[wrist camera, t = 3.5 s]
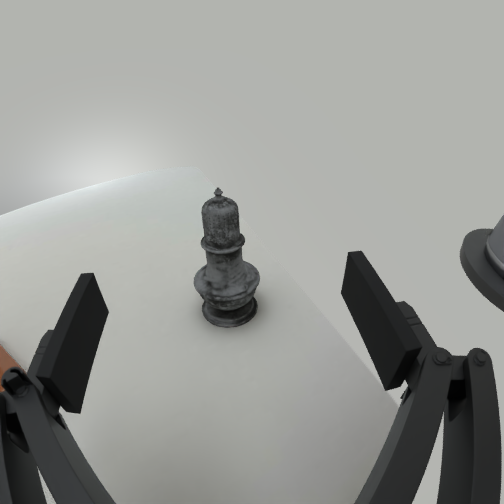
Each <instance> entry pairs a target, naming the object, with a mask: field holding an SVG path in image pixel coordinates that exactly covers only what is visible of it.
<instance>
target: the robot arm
mask: <svg viewBox="0 0 504 504" xmlns="http://www.w3.org/2000/svg"><path fill="white" fill-rule="evenodd" d="M485 235H489V236H488V239H487V242H486V245H485V248H484V252H485V256H486V258H487V260H488V262H489V264H490V265H491V266H492V268H493V269H494V270H495V271H496V272H497V273H498V274H499V275H500V276H501V277H502V278H503V279H504V215H503V216H502V218H501V219H500V221H499V222H498V224H497V225H496V226H495V228H494V229H487V231H486V234H485ZM341 294H342V296H343V299H344V301H345V303H346V305H347V307H348V309H349V311H350V313H351V315H352V317H353V320H354V322H355V324H356V326H357V328H358V330H359V332H360V334H361V337H362V339H363V341H364V343H365V345H366V348H367V350H368V352H369V354H370V357H371V359H372V361H373V363H374V365H375V368H376V370H377V372H378V375H379V377H380V379H381V382H382V384H383V386H384V389H385V391H387V390H390V389H394V388H398V387H400V386H401V385H402V383H403V381H404V380H406V382H407V384H408V387H407V389H406V390H405V391H404V393H403V395H402V396H401V399H402V402H401V404H400V407H399V410H398V412H397V415H396V417H395V420H394V423H393V425H392V427H391V430H390V432H389V435H388V437H387V439H386V442H385V444H384V446H383V448H382V450H381V453H380V455H379V457H378V459H377V461H376V463H375V465H374V467H373V469H372V471H371V473H370V475H369V477H368V479H367V481H366V483H365V485H364V487H363V489H362V491H361V492H360V494H359V496H358V498H357V500H356V501H355V503H354V504H412V502H413V500H414V497H415V495H416V493H417V490H418V487H419V485H420V483H421V480H422V478H423V475H424V473H425V470H426V467H427V464H428V462H429V459H430V456H431V453H432V450H433V447H434V443H435V440H436V437H437V433H438V430H439V427H440V423H441V419H442V416H443V412H444V433H443V452H442V465H441V476H440V484H439V493H438V499H437V504H500V493H501V432H500V419H499V418H500V417H499V407H498V399H497V391H496V384H495V378H494V371H493V366H492V360H491V358H490V356H489V354H488V353H487V352H486V351H484V350H483V349H480V348H473V349H472V350H470V352H469V353H468V355H467V356H452V355H451V354H450V353H449V352H448V351H447V350H446V349H444V348H440V347H437V346H436V344H435V342H434V341H433V339H432V337H431V336H430V334H429V333H428V332H427V329H426V328H425V326H424V325H423V324H422V322H421V320H420V319H419V318H418V315H417V314H416V312H415V311H414V309H413V308H412V307H411V306H410V305H408V304H407V303H406V302H405V301H402V302H395V300H394V299H393V297H392V296H391V294H390V293H389V291H388V289H387V288H386V286H385V285H384V283H383V282H382V280H381V279H380V277H379V276H378V274H377V273H376V271H375V270H374V268H373V267H372V265H371V264H370V262H369V261H368V260H367V258H366V257H365V255H364V254H363V252H362V251H355V252H348V256H347V262H346V269H345V274H344V279H343V285H342V290H341ZM108 313H109V311H108V309H107V306H106V304H105V301H104V299H103V297H102V294H101V292H100V289H99V286H98V284H97V281H96V279H95V276H94V273H84V274H81V275H80V277H79V279H78V281H77V283H76V285H75V287H74V288H73V290H72V292H71V294H70V297H69V299H68V301H67V303H66V305H65V307H64V309H63V311H62V313H61V315H60V318H59V320H58V322H57V324H56V326H55V329H54V330H48V331H47V332H46V333H45V335H44V336H43V337H42V339H41V341H40V343H39V345H38V348H37V350H36V352H35V353H36V354H35V355H34V357H33V360H32V362H31V365H30V367H29V370H28V372H27V375H26V374H25V372H24V371H23V370H22V369H21V368H20V367H11V368H9V369H8V370H6V371H5V373H4V374H3V376H2V378H1V386H2V387H3V388H4V389H5V390H6V391H4V392H0V504H47V502H46V499H45V495H44V492H43V488H42V485H41V481H40V477H39V473H38V468H39V471H40V473H41V475H42V477H43V479H44V481H45V483H46V485H47V487H48V489H49V491H50V492H51V494H52V496H53V498H54V500H55V502H56V503H57V504H116V503H115V502H114V500H113V499H112V498H111V496H110V495H109V493H108V492H107V491H106V489H105V488H104V486H103V485H102V483H101V482H100V481H99V479H98V478H97V476H96V474H95V473H94V471H93V470H92V468H91V467H90V465H89V463H88V462H87V460H86V459H85V457H84V455H83V454H82V452H81V450H80V448H79V447H78V445H77V443H76V441H75V440H74V438H73V436H72V434H71V432H70V430H69V429H68V427H67V425H66V423H65V421H64V419H63V417H62V415H61V414H60V413H59V408H60V405H61V407H62V408H63V409H64V410H65V411H66V412H71V413H78V414H80V413H81V408H82V404H83V400H84V396H85V392H86V388H87V384H88V380H89V376H90V372H91V369H92V365H93V362H94V358H95V355H96V351H97V348H98V344H99V341H100V338H101V335H102V331H103V328H104V325H105V322H106V319H107V316H108ZM37 466H38V468H37Z"/></svg>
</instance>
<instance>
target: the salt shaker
mask: <svg viewBox="0 0 504 504" xmlns="http://www.w3.org/2000/svg"><path fill="white" fill-rule="evenodd" d="M222 193H223V192H222V191H221V189H219V188H217V189H216V190H215V192H214V194H215V195H216V196H215V197H214V198H211V199H209V200H208V201H207V202H205V204H204V205H203V207H202V220H203V228H204V237H203V238H202V240H201V246H202V248H203V249H204V250H205V251H206V258H207V265H205V266H203V267H202V268H201V269H200V270H199V271H198V272H197V273H196V275H195V277H194V286H195V289H196V290H197V291H198V293H199V294H200V296H201V297H202V298H203V299H204V303H203V305H202V312H203V315H204V317H205V318H206V319H207V321H209V322H210V323H212V324H214V325H217V326H221V327H235V326H239V325H242V324H244V323H246V322H248V321H249V320H250V319H252V318H253V317H254V315H255V314H256V311H257V301H256V299H255V298H254V297H253V295H254V293H255V290H256V287H257V286H258V284H259V281H260V276H259V272H258V270H257V269H256V268H255V267H254V266H253V265H252V264H250V263H248V262H246V261H243V259H242V246H243V245H244V243H245V237H244V236H243V235H242V234H241V233H240V229H239V213H238V206H237V204H236V203H235V202H234V201H233V200H232V199H230V198H227V197H224V196H222V195H221V194H222Z"/></svg>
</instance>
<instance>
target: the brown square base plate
mask: <svg viewBox="0 0 504 504" xmlns="http://www.w3.org/2000/svg"><path fill="white" fill-rule="evenodd" d="M11 367H20V368H21V366H20V365H19V364H18V363H17V362H16V361H15V360H14V359H13V358H12V357H11V356H10V355H9V354H8V353H7V351H6V350H5V349H4V348H3V347H2V346H1V345H0V392H4V391H6V390H5V389H4V388H3V387H2V386H1V378H2V376H3V374H4V373H5V371H6V370H8V369H9V368H11ZM21 369H22V368H21ZM22 370H23V369H22ZM23 371H24V370H23ZM24 372H25V371H24ZM25 374H26V375H27V373H26V372H25Z"/></svg>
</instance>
